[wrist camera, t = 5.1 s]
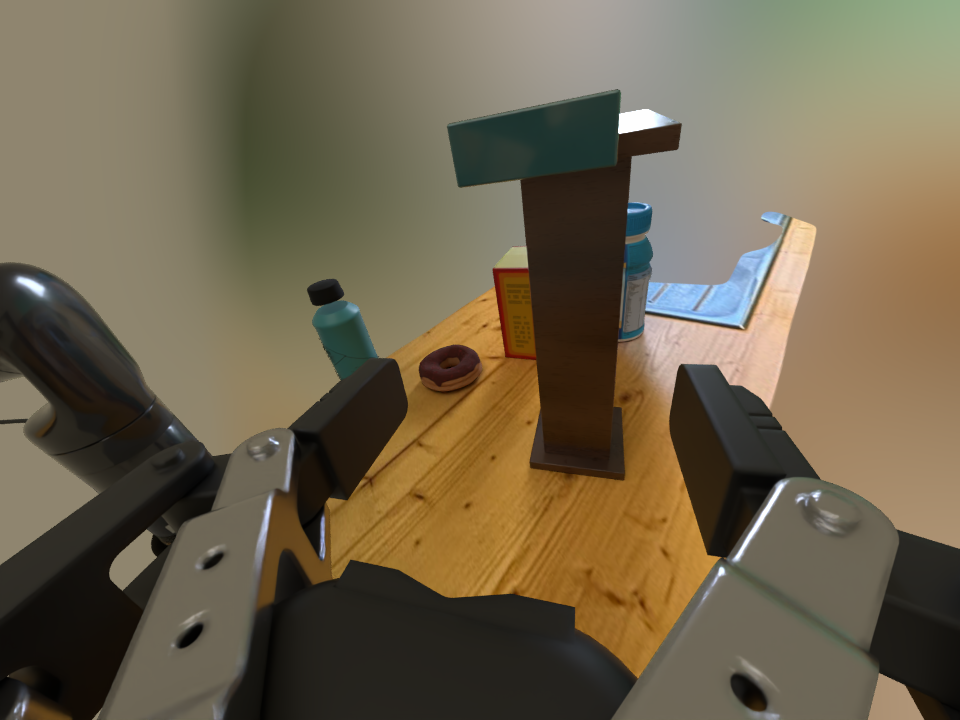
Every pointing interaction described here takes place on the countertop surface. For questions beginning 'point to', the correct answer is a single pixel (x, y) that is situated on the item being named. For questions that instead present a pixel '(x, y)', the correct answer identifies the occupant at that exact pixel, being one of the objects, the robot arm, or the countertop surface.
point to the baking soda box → (515, 304)
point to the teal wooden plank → (537, 140)
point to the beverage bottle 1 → (340, 328)
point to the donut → (452, 378)
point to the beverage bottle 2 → (635, 271)
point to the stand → (583, 300)
